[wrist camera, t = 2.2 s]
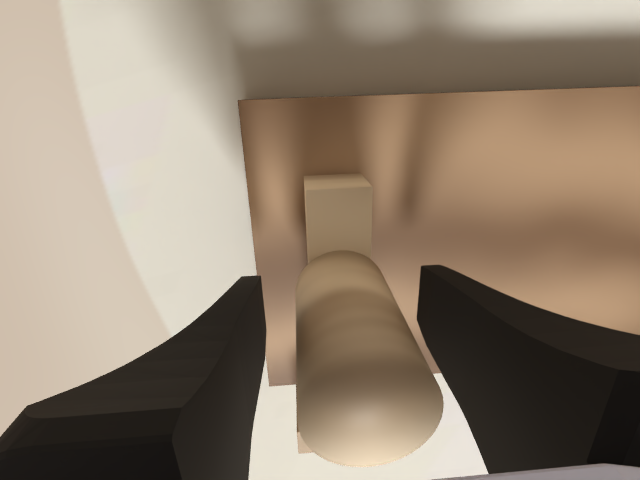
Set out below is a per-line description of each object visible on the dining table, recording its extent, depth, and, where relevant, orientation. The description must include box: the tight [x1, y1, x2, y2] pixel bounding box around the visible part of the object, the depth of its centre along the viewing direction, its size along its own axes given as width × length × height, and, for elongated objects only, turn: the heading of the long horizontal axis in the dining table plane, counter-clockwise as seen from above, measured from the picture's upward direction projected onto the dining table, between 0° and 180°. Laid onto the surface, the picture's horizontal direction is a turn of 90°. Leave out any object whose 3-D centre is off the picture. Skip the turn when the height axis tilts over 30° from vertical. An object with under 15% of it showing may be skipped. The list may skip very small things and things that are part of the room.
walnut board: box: [238, 86, 640, 386], centre depth 15 cm, size 12×20×2 cm, turn 92°
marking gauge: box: [295, 173, 443, 467], centre depth 12 cm, size 11×4×9 cm, turn 2°
